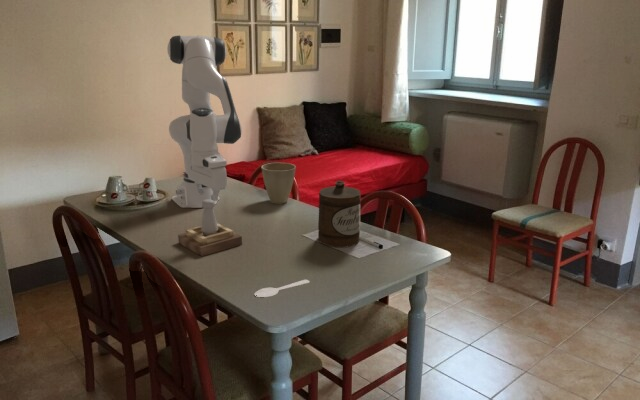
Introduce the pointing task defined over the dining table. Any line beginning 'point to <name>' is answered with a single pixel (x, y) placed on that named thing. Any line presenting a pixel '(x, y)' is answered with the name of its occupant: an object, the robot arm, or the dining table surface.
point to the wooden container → (339, 215)
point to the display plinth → (209, 240)
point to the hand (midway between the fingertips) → (207, 197)
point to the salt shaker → (208, 218)
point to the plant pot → (278, 180)
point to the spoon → (277, 289)
